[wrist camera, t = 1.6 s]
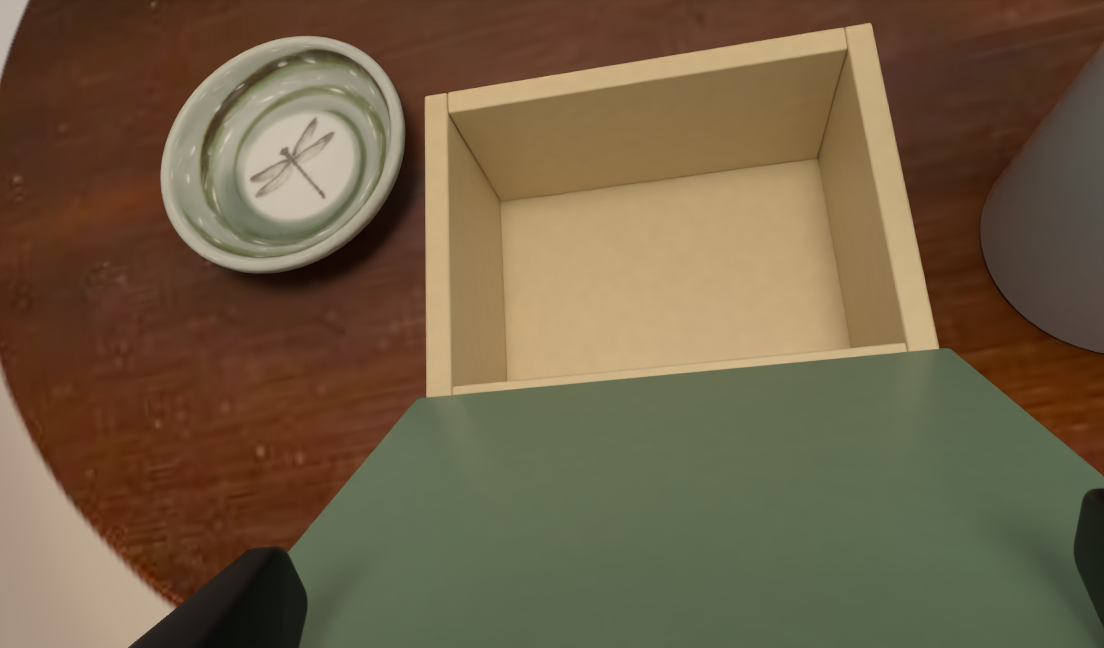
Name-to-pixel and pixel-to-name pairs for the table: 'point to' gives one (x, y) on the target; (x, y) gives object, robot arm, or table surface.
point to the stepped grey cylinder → (1055, 217)
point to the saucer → (283, 155)
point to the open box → (669, 219)
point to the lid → (711, 517)
